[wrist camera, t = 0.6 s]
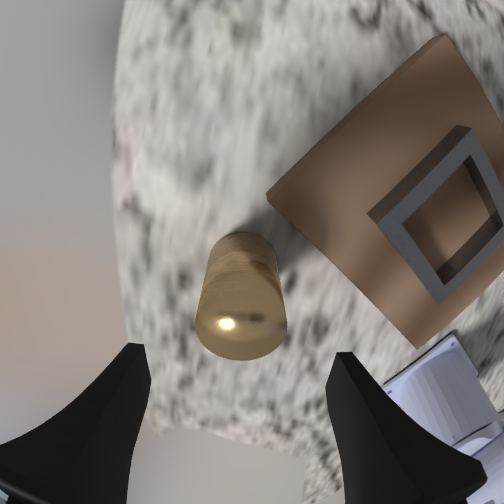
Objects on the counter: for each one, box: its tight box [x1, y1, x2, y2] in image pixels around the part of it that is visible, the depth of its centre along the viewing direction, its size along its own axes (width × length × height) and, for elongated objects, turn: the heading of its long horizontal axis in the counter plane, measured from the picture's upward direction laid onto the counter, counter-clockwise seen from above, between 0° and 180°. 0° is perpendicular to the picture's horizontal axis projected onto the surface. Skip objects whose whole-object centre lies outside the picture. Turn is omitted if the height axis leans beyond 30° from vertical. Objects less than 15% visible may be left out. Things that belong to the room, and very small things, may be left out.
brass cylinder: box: [195, 232, 287, 361], centre depth 16 cm, size 4×4×6 cm
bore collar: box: [366, 125, 504, 305], centre depth 15 cm, size 8×8×2 cm
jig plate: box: [266, 35, 504, 349], centre depth 17 cm, size 16×14×2 cm
